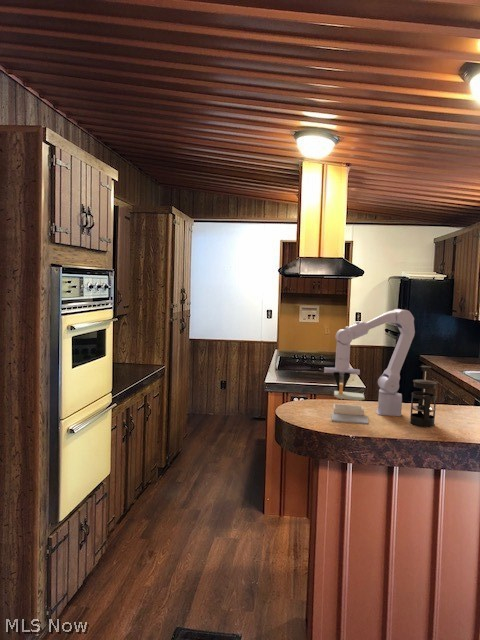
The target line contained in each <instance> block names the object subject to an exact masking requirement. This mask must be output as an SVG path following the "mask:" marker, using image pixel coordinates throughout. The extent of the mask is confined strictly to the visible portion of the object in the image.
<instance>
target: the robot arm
mask: <svg viewBox="0 0 480 640" xmlns="http://www.w3.org/2000/svg"><path fill="white" fill-rule="evenodd" d="M387 323H388V324H389V323H390V324H394V325H395V326H396V327H397V328H398V330H399V333H400V334H399V337H398V340H397V342H396V345H395V347H394V350H393V353H392V355H391V358H390V360H389V363H388V365H387V368H385V369H384V371H383V373H382V374H381V375H380V376H379V378H378V379H377V385H378V387H379V389H378V400H377V402H378V403H377V404H378V405H377V409H375V411H376V412H375V413H377V415H379V416H389V417H390V416H392V417H402V408H403V407H402V406H403V405H402V404H403V394H402V393H399V392H398V391H399V389H400V380H401V375H400V374H401V370H402V367H403V365H404V363H405V360H406V357H407V355H408V352H409V350H410V348H411V344H412V343H413V342H412V341H413V339H414V338H415V335H416V334H415V333H416V330H415V317H414V315H413V314H412V312H411V311H410V310H408V309H402V308H401V309H400V308H394V309H393V310H389V311H386V312H384V313H382V314H380V315H379V316H377V317H374V318H371V319H370V320H368V321H366V322H365V321H362V320H360V321H359V320H357V321H355V323H354V324H352V325H349V326H345V328H344V329H343V328H342V329H341V328H340V329H339V330H337V332H336V333H335V335H334V338H335V340H336V345H335V346H336V347H335V365H334V367H325V366H324V368H323V369H324V370H323V372H324V374H326V373H327V374H328V373H329V374H333V377H334V379H335V382H336V387H337V388H336V389H337V390H336V391H339V384H340V381H341V380H340V378H341V375H340V374H343V378H342V379H343V380H342V383H343V392H345V388H346V385H347V383H348V381H349V379H350V377H351V375H358V376H359V375H361V370H360V369H358V368H357V369H356V368H350V361H351V360H350V358H351V357H350V356H351V355H350V354H351V343H352V342H353V340H356V339H359V338H360V337H363V336H365V335H367V334H368V333H369V331H370V330H372V329H375V328H376V327H380V326H382V325H384V324H387Z"/></svg>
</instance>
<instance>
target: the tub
mask: <svg viewBox="0 0 480 640" xmlns="http://www.w3.org/2000/svg"><path fill="white" fill-rule="evenodd" d="M332 410H333V411H334V412H333V414H343V415H356V416H365V415H364V413H365V409H364V406H363V405H355V404H341V403H333V406H332Z"/></svg>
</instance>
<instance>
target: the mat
mask: <svg viewBox="0 0 480 640" xmlns="http://www.w3.org/2000/svg"><path fill="white" fill-rule="evenodd" d="M330 415H331V422H334V421H335V422H338V423H347V424H348V423H349V424H362V425H369V424H370V423H369V420H368V416H366V415H364V416H356V415H343V414H334V413H331V414H330Z"/></svg>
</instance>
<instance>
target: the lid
mask: <svg viewBox="0 0 480 640" xmlns="http://www.w3.org/2000/svg"><path fill="white" fill-rule="evenodd" d="M333 396H334V397H336V399H340V400H341V399H342V400H351V401H361V402H362V400H366V399H365V394H364V393H361V392H360V393H359V392H349V391H343V382H339V391H337V390H333Z"/></svg>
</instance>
